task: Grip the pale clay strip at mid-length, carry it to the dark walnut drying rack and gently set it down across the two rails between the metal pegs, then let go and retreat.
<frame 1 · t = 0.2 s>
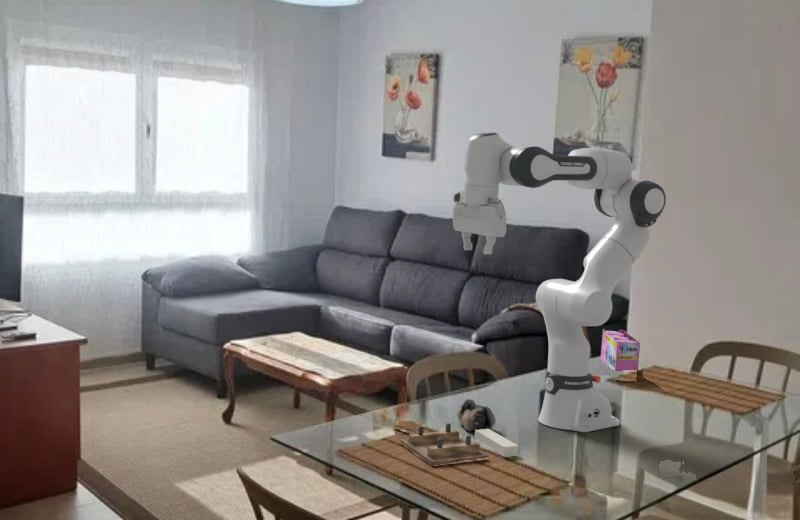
hand: (477, 252, 221), 47 cm above the table, fingers open, 8 cm apart
shard: (414, 432, 227), on the table
clay strip: (495, 449, 215), on the table
bison figurine: (470, 429, 231), on the table
gum box: (617, 374, 302), on the table
walnut rack: (443, 452, 210), on the table
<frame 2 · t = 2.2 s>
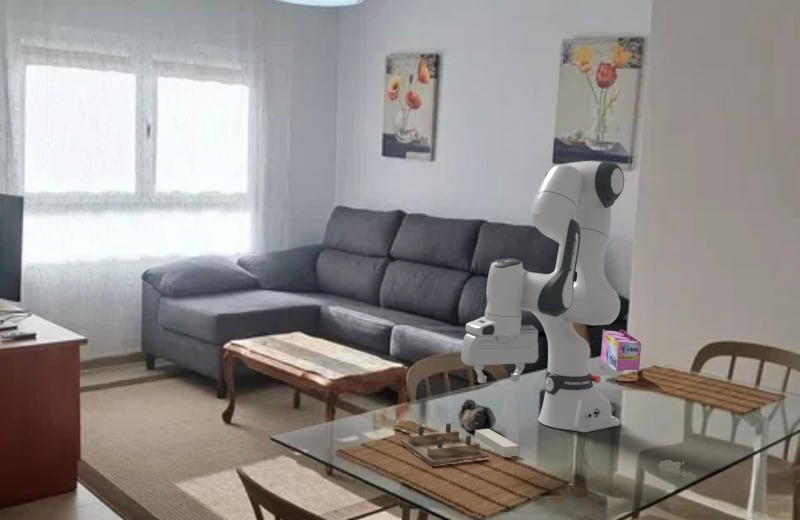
hand: (498, 381, 213), 17 cm above the table, fingers open, 8 cm apart
nothing on the table moved.
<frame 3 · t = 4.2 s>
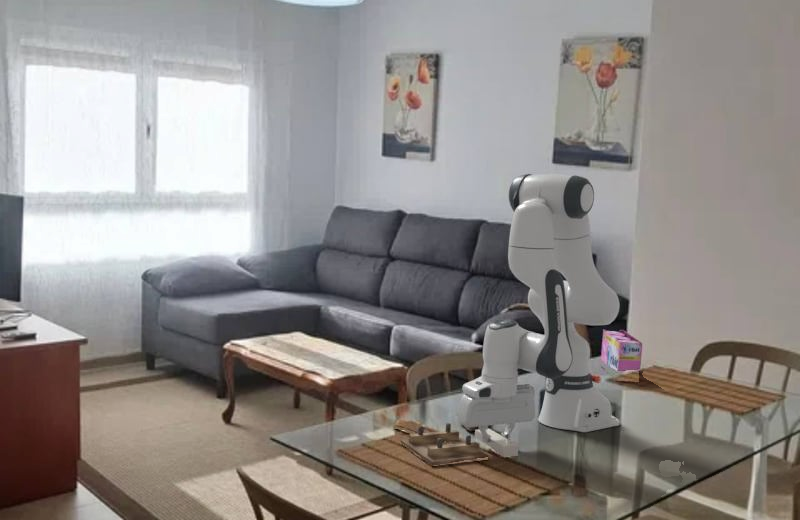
hand: (495, 441, 215), 2 cm above the table, fingers closed on clay strip, 4 cm apart
clay strip: (495, 449, 215), on the table, touching gripper
everything else where it was.
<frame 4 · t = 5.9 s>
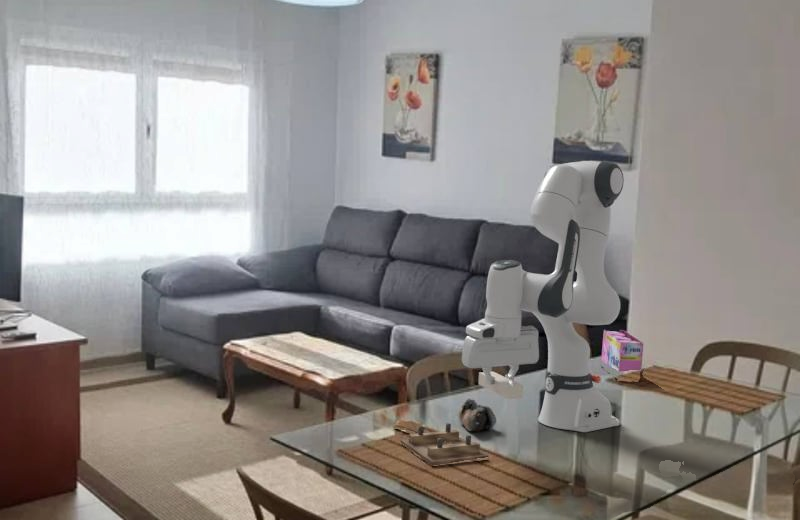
hand: (499, 383, 214), 16 cm above the table, fingers closed on clay strip, 4 cm apart
clay strip: (499, 390, 214), point 14 cm above the table, touching gripper
everything else where it was.
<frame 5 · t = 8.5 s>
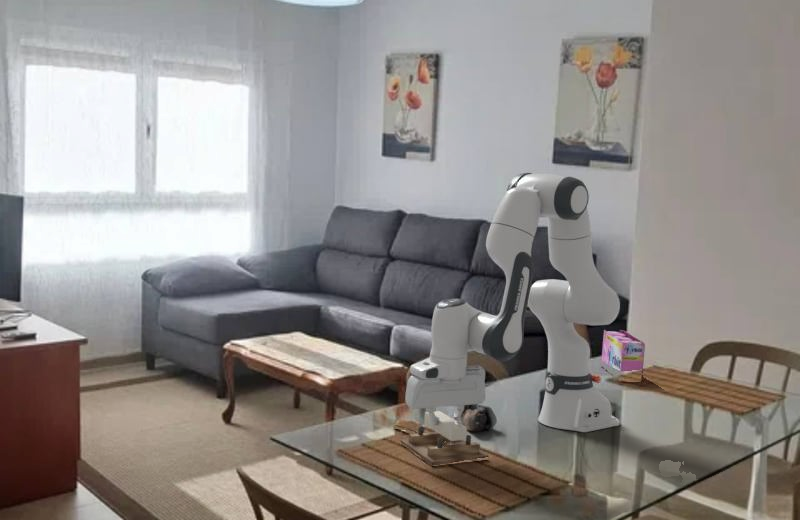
hand: (444, 423, 209), 7 cm above the table, fingers closed on clay strip, 4 cm apart
clay strip: (444, 431, 209), point 5 cm above the table, touching gripper
when the fingers open (6 cm above the table, at t = 8.9 s): clay strip drops 1 cm, resting on walnut rack.
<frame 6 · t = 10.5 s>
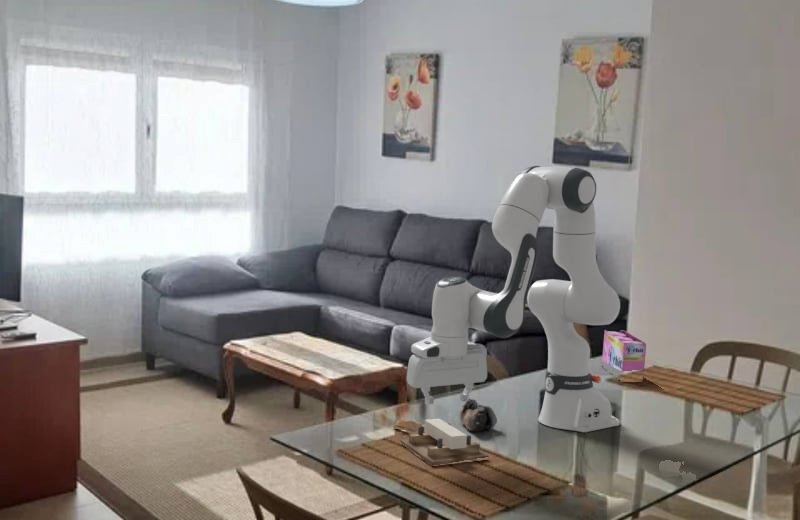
hand: (446, 402, 209), 12 cm above the table, fingers open, 8 cm apart
clay strip: (444, 439, 210), point 3 cm above the table, touching walnut rack
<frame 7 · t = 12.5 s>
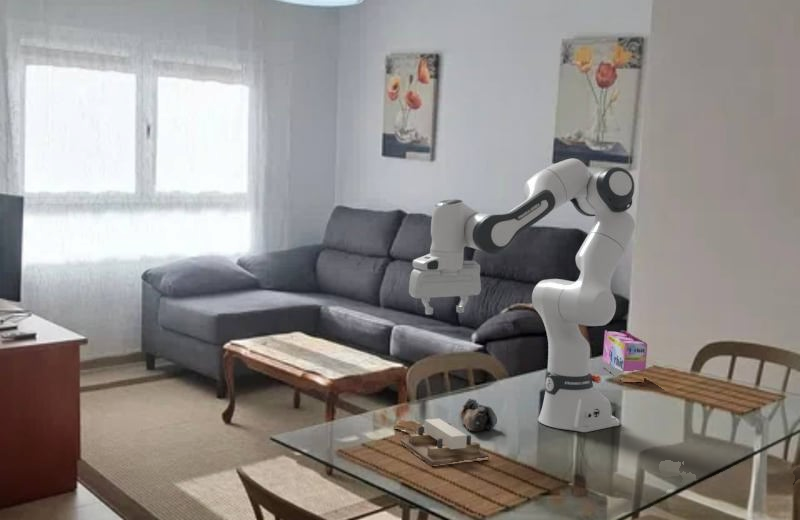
hand: (444, 313, 232), 30 cm above the table, fingers open, 8 cm apart
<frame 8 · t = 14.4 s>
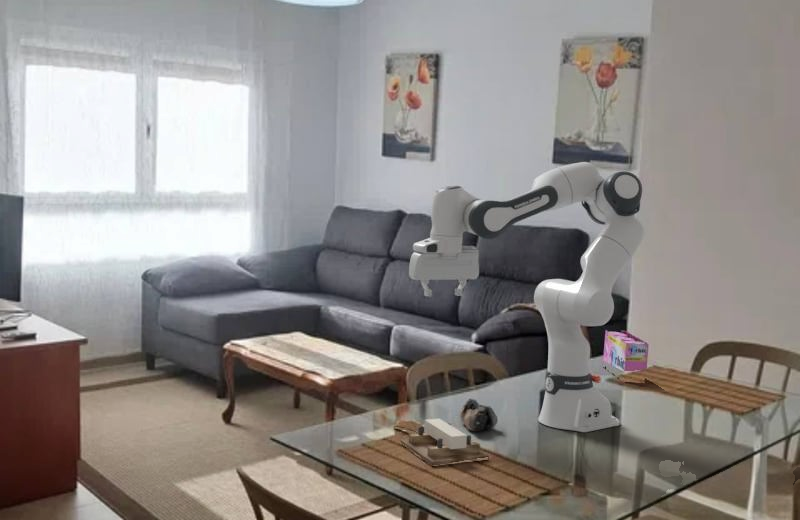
hand: (443, 295, 240), 33 cm above the table, fingers open, 8 cm apart
at the end: clay strip 0.2 cm off-centre on the walnut rack, point 3.2 cm above the walnut rack's base; clay strip tilted 0°; the gripper is holding nothing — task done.
